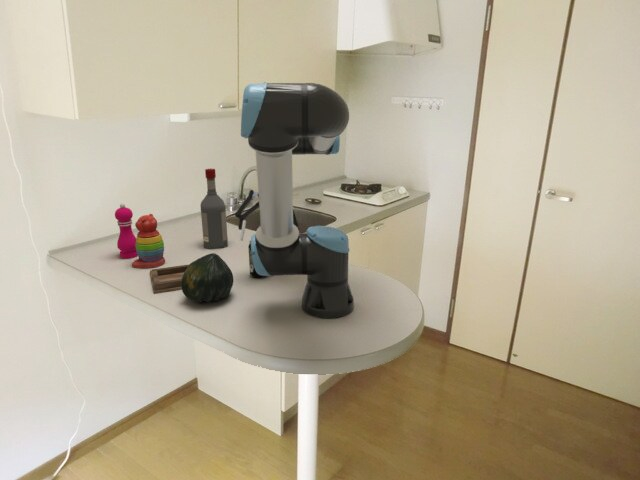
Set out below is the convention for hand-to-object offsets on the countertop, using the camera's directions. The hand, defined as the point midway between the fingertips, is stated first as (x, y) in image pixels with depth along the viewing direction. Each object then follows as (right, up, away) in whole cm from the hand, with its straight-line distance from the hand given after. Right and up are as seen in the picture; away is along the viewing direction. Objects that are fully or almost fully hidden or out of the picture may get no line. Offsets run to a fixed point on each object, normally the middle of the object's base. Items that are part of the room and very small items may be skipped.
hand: (262, 244), depth 155 cm
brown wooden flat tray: (-29, -11, +5) cm, 31 cm away
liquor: (-23, -1, +37) cm, 43 cm away
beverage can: (-2, -11, +8) cm, 14 cm away
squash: (-15, -16, -8) cm, 23 cm away
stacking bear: (-42, -7, +19) cm, 46 cm away
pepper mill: (-52, -5, +26) cm, 58 cm away
